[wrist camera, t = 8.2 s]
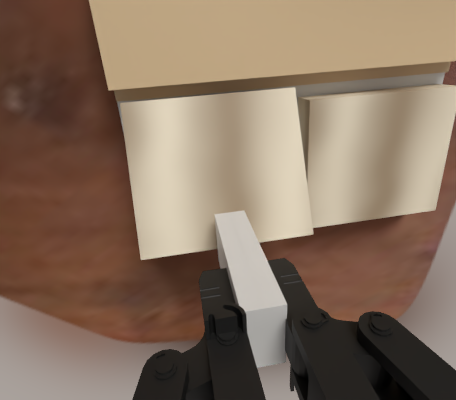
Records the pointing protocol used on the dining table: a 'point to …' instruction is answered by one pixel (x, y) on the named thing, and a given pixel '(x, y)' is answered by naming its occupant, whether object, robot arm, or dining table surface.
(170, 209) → the cream flat block
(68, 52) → the dining table surface
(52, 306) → the dining table surface
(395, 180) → the beige square panel
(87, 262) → the dining table surface
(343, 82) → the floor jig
